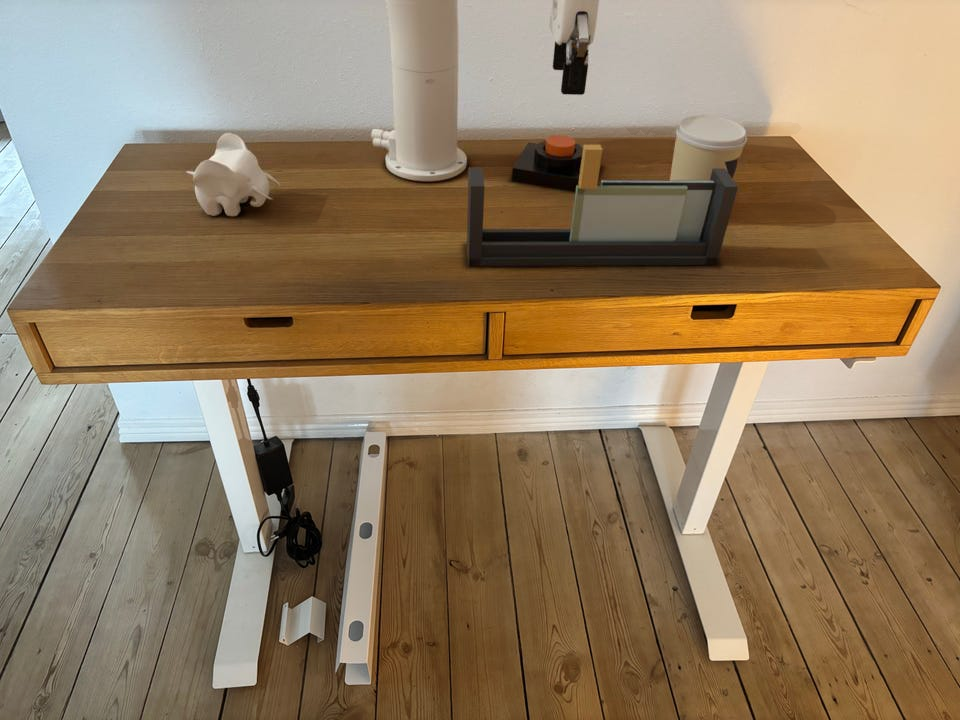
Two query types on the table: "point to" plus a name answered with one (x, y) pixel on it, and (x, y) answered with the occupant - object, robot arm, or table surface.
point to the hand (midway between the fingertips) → (567, 81)
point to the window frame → (551, 247)
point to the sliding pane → (622, 208)
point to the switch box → (548, 167)
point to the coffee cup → (706, 147)
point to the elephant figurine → (230, 178)
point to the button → (560, 145)
